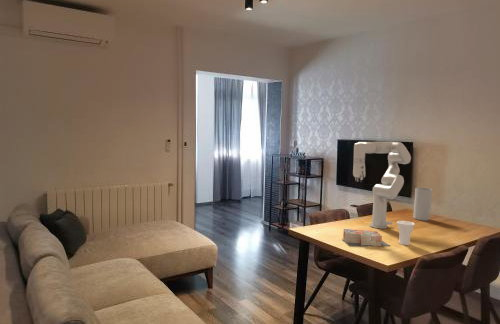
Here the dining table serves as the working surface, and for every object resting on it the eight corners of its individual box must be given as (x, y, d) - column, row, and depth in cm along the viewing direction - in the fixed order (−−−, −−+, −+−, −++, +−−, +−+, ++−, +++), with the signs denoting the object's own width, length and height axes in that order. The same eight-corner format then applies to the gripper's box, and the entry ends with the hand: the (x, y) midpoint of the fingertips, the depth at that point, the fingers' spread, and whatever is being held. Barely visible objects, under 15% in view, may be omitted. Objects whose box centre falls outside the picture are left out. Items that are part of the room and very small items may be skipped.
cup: (415, 246, 227) (416, 225, 226) (397, 245, 229) (398, 224, 227) (410, 241, 237) (412, 221, 236) (393, 240, 239) (395, 220, 238)
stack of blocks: (342, 238, 239) (345, 244, 227) (343, 228, 239) (346, 234, 227) (376, 240, 237) (381, 246, 225) (377, 230, 237) (382, 236, 224)
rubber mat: (379, 239, 240) (379, 239, 240) (390, 246, 227) (390, 245, 227) (341, 239, 236) (341, 239, 236) (350, 246, 223) (350, 246, 223)
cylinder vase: (411, 219, 300) (414, 188, 298) (414, 216, 311) (417, 187, 308) (428, 221, 293) (431, 190, 291) (431, 218, 304) (433, 189, 301)
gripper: (369, 161, 247) (368, 188, 249) (359, 159, 262) (358, 185, 264) (359, 162, 246) (358, 189, 248) (349, 159, 261) (348, 185, 263)
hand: (358, 186), depth 256 cm, fingers closed
